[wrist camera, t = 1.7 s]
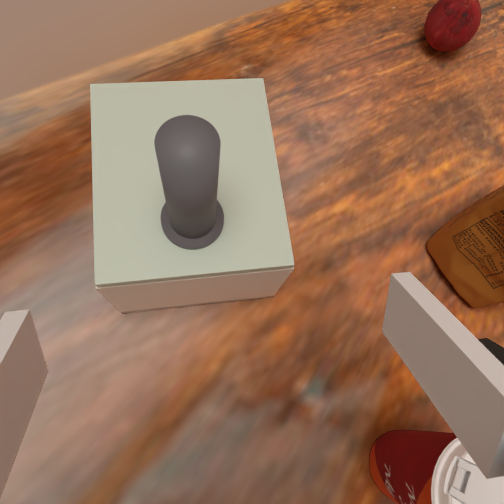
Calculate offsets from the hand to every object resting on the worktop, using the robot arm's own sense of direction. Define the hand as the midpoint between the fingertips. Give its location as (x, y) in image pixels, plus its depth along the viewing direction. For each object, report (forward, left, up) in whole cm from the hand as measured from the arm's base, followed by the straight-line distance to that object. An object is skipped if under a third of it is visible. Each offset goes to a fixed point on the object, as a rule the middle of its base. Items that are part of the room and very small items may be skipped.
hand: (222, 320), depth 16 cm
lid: (-1, +13, -13) cm, 19 cm away
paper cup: (+15, -11, -24) cm, 30 cm away
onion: (+31, +34, -24) cm, 52 cm away
